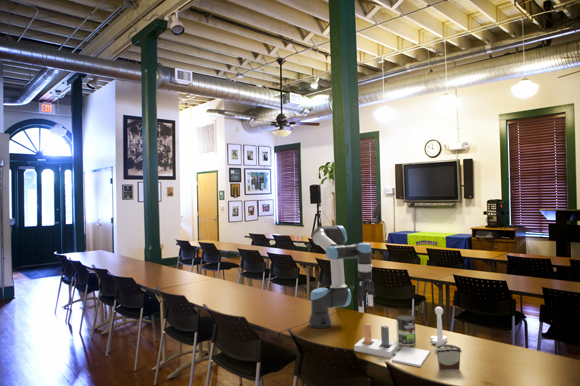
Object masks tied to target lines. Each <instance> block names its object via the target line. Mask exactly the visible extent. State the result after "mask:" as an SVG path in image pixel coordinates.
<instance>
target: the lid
mask: <svg viewBox="0 0 580 386" xmlns="http://www.w3.org/2000/svg"><path fill="white" fill-rule="evenodd" d="M430 354H431V350H428V349H427V350H426V349H421V348H416V347H412V346H405V345H402V347H401V348H400V350H399V351H398V350H397V351H395V352H394V353H393V356H394V357H392V358H391V362H392V363H398V364H402V365H407V366H412V367H417V368H421V367H422V365H423V364H424V363H425V361H426V360H427V358H428V357H429V355H430Z"/></svg>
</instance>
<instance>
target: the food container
mask: <svg viewBox="0 0 580 386" xmlns="http://www.w3.org/2000/svg"><path fill="white" fill-rule="evenodd" d="M434 352H435V354H436V355H437V363H438V364H437V366H438V369H439V372H441V371H458V370H459V371H460V368H461V367H460V366H461V365H460V364H461V353H463V352H462V349H461V347H459V346H457V345H454V344H446V343H444V344H442V345H438V346H436V347H435V351H434Z"/></svg>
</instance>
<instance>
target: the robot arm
mask: <svg viewBox="0 0 580 386" xmlns="http://www.w3.org/2000/svg"><path fill="white" fill-rule="evenodd" d="M311 240H312V242H313V243H314V244H315V245H317V246H320V247H321V248H322V249H323V250H324V251H325V256H326V259H328V260H330V273H331V275H330V276H331V285H330V286H329V288H328V287H327V288H326V287H319V288H315V289H313V290H311V292H310V309H311V310H310V317H309V320H308V326H309V325H310V326H311V328H313V327H314V329H327V328H328V329H329V328H331V327H332V326H333V320H332V318H331V316H330V309H335V308H345V307H347V306H349V305H350V304H351V300H352V292H351V289H350V288H349V287H348V285H347V284H346V283H345V282H346V281H345V270H344V269H345V267H344V260H345V259H347V260H348V259H357V271H358V272H357V275H358V279H360V281H358V282H357V284H358V287H357V292H356V301H357V302H358V313H363V314H364V313H365V306H364V305H365V304H364V303H365V301H364V297H365V292H366V291H367V293H368V294H367V305H368V307H374V295H375V288H374V283H373V272H372V269H373V264H372V263H373V262H372V245H371V243H369V242H358V243H353V244H349V245H345V243H346V242H347V241H348V235H347V230H346V229H345V227H344V226H343V225H325V226H323V225H321V226H318V227H316V228H315V229H314V230H313V232H312V234H311ZM310 326H309V327H310Z"/></svg>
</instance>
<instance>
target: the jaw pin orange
mask: <svg viewBox="0 0 580 386" xmlns="http://www.w3.org/2000/svg"><path fill="white" fill-rule="evenodd" d="M363 338H364V344H367V345H372V339H373V338H372V324H371V323H369V322H368V323H367V322H366V323H363Z"/></svg>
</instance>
